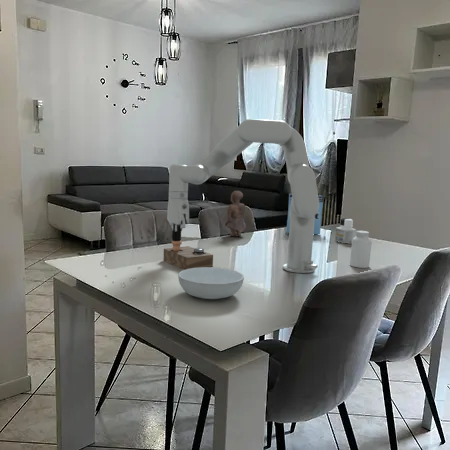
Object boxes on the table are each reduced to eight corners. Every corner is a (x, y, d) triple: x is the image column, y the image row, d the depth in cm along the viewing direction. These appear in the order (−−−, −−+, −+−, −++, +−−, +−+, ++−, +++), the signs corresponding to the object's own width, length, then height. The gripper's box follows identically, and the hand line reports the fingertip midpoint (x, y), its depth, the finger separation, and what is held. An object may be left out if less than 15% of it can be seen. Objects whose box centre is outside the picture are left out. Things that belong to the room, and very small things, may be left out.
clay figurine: (236, 233, 262) (238, 189, 259) (250, 236, 256) (252, 191, 252) (220, 235, 253) (223, 190, 249) (234, 238, 246) (237, 191, 242)
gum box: (286, 233, 272) (289, 194, 269) (286, 231, 277) (289, 193, 274) (320, 235, 271) (323, 196, 267) (319, 233, 276) (322, 195, 272)
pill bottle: (356, 268, 193) (359, 233, 191) (346, 264, 201) (349, 229, 198) (372, 268, 195) (376, 233, 193) (362, 263, 203) (365, 229, 201)
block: (212, 267, 184) (213, 254, 183) (187, 270, 177) (187, 257, 176) (187, 257, 198) (188, 246, 197) (163, 260, 191) (163, 248, 190)
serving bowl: (240, 287, 159) (241, 267, 158) (245, 307, 138) (246, 285, 137) (179, 284, 158) (180, 265, 157) (175, 304, 137) (176, 282, 136)
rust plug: (183, 253, 188) (183, 241, 187) (174, 254, 185) (175, 242, 184) (177, 251, 191) (178, 239, 190) (169, 252, 188) (169, 240, 188)
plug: (205, 262, 185) (205, 249, 184) (197, 263, 183) (197, 250, 182) (199, 260, 188) (200, 247, 187) (191, 261, 186) (191, 248, 185)
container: (334, 241, 255) (336, 217, 253) (345, 240, 258) (348, 217, 256) (343, 243, 248) (346, 219, 246) (355, 243, 251) (357, 219, 249)
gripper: (196, 197, 181) (194, 243, 184) (176, 193, 192) (174, 236, 195) (180, 197, 176) (178, 245, 179) (160, 193, 188) (159, 238, 191)
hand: (176, 240), depth 187 cm, fingers closed
